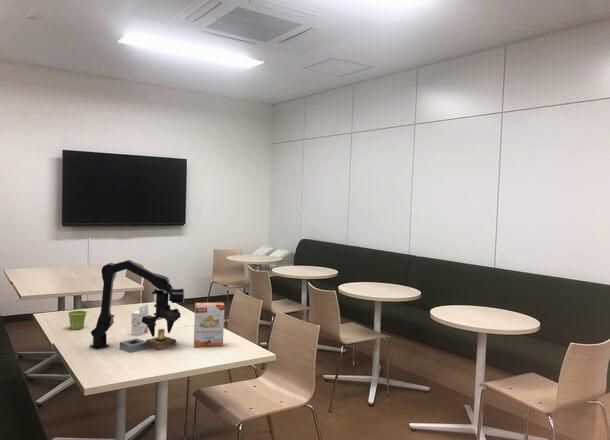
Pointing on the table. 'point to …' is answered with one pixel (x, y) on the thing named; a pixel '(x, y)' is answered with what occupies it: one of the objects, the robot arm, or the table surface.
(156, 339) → the brown square frame
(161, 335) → the brass peg
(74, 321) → the plant pot
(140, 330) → the ink cartridge box
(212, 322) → the cracker box
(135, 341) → the socket block
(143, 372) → the table surface
